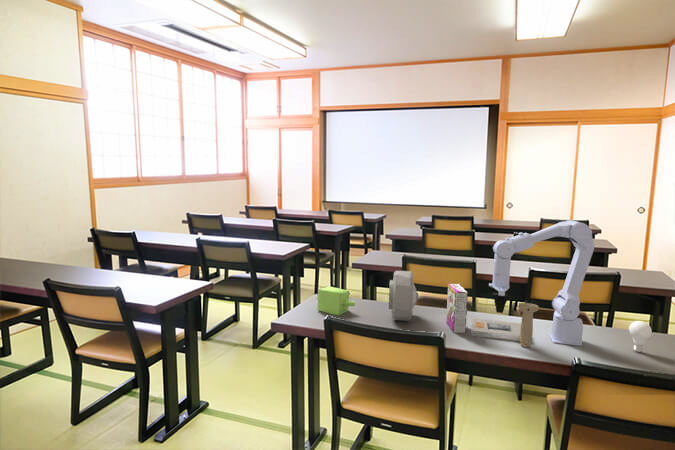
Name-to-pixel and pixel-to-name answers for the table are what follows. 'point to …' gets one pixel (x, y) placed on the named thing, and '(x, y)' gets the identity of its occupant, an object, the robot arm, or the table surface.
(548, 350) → the table surface
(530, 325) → the handle
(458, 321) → the candy bar box
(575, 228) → the robot arm
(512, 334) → the rack plate
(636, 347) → the lightbulb
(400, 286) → the dial
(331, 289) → the gearbox
